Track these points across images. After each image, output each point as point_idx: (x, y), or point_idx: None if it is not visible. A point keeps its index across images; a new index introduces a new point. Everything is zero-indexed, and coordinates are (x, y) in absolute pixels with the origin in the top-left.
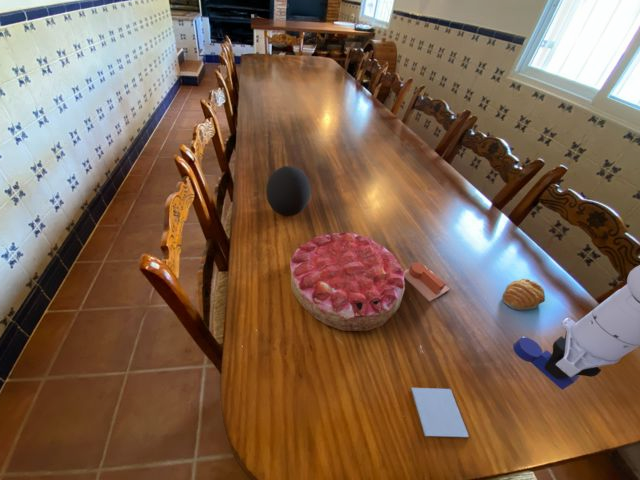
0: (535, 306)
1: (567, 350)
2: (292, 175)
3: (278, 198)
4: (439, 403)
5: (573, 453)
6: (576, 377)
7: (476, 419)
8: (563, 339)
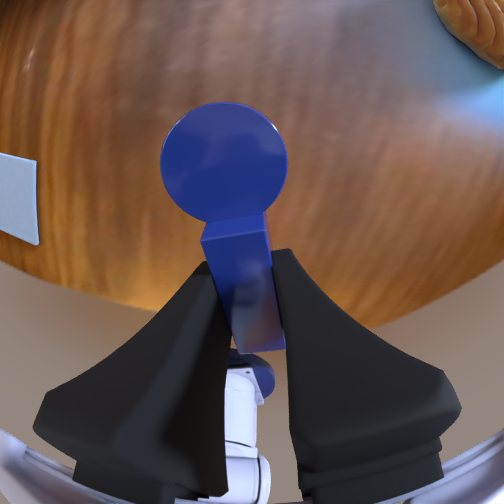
0: (497, 65)
1: (4, 491)
2: None
3: None
4: (9, 185)
5: None
6: (270, 347)
7: (61, 224)
8: (112, 461)
